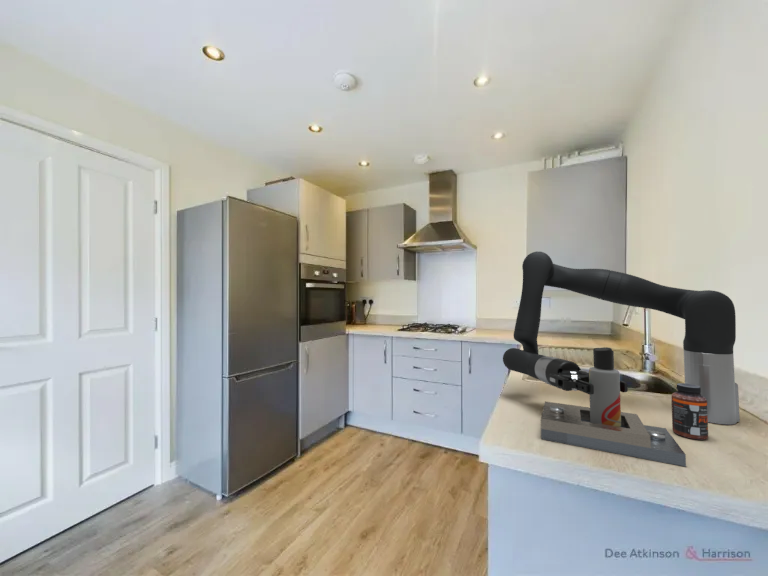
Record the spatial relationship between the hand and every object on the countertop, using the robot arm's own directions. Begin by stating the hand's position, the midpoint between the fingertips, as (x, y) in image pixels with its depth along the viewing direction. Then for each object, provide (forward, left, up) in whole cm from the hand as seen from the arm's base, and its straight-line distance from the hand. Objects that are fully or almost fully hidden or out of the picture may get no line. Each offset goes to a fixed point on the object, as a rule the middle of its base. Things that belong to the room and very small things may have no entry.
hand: (609, 388), depth 70 cm
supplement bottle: (-21, -2, -12) cm, 24 cm away
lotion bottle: (-1, -2, -12) cm, 12 cm away
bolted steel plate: (0, -2, -11) cm, 12 cm away
